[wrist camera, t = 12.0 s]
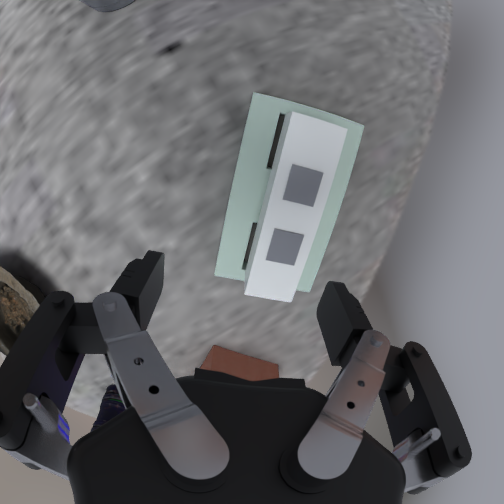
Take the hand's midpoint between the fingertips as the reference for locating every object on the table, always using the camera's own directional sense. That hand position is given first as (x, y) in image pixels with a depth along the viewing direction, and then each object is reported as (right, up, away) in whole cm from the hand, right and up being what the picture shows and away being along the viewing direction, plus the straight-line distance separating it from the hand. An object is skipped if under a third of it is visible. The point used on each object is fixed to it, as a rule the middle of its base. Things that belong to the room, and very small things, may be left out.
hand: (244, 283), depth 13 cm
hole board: (+4, +8, +17) cm, 19 cm away
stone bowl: (-42, -9, +25) cm, 50 cm away
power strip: (+4, +8, +17) cm, 19 cm away
